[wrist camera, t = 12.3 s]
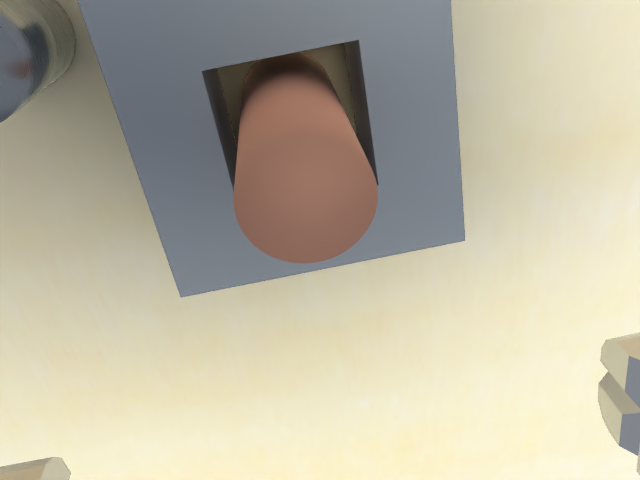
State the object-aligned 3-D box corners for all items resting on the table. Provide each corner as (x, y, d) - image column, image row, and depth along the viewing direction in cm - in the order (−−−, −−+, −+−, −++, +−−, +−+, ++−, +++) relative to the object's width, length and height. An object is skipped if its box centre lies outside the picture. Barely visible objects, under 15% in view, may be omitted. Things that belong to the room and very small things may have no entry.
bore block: (192, 240, 29) (180, 297, 24) (107, -24, 23) (73, -12, 19) (433, 192, 29) (465, 240, 24) (409, -84, 23) (445, -86, 19)
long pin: (253, 149, 27) (251, 275, 17) (231, 60, 25) (216, 147, 15) (339, 132, 27) (385, 248, 17) (324, 42, 25) (368, 117, 15)
